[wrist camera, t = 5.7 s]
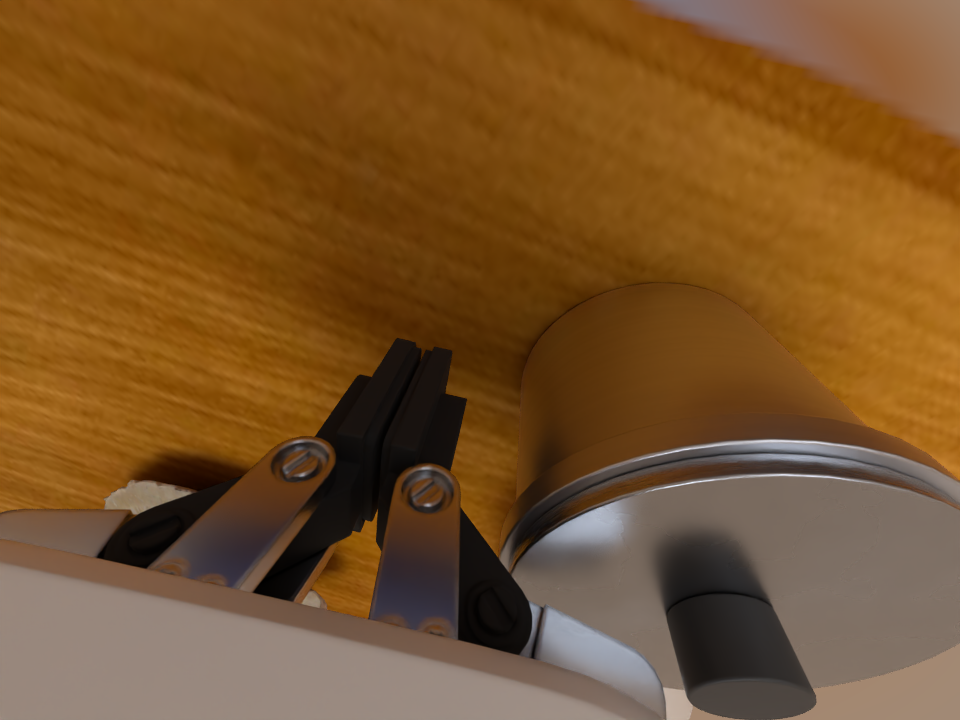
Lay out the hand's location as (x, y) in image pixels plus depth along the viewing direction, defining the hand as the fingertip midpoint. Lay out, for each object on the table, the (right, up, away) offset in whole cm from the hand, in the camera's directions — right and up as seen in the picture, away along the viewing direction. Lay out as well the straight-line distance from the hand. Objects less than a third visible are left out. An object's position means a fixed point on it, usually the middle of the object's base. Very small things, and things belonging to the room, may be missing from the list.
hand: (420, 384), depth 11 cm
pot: (+7, 0, +1) cm, 7 cm away
